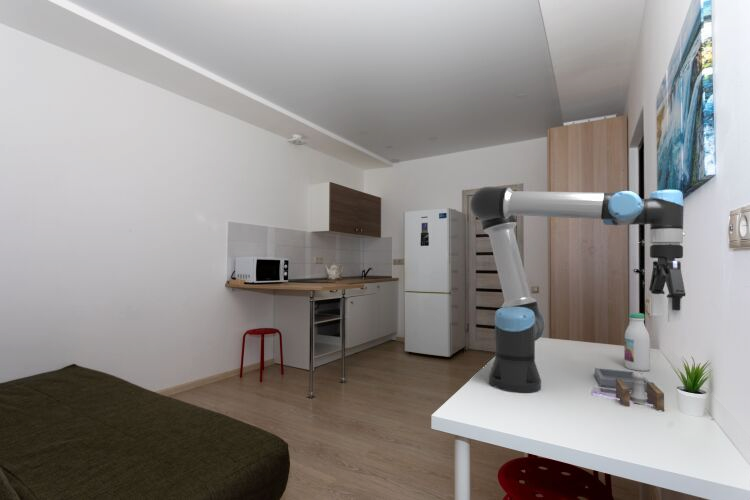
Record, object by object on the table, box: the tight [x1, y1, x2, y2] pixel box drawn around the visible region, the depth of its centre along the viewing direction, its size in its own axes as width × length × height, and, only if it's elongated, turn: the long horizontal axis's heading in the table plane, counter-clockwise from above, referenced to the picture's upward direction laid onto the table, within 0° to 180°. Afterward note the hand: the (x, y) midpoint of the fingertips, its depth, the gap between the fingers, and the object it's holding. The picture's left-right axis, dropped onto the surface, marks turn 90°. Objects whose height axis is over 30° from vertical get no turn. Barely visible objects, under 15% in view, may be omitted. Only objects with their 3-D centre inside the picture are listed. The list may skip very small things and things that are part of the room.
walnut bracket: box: [615, 378, 665, 412], centre depth 103 cm, size 9×10×4 cm
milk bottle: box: [623, 312, 651, 372], centre depth 137 cm, size 8×8×20 cm
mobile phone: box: [590, 386, 653, 407], centre depth 107 cm, size 8×1×15 cm
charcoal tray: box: [594, 367, 650, 393], centre depth 119 cm, size 13×13×2 cm
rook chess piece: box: [630, 370, 648, 405], centre depth 103 cm, size 4×4×8 cm
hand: (665, 318), depth 108 cm, fingers open, 13 cm apart
